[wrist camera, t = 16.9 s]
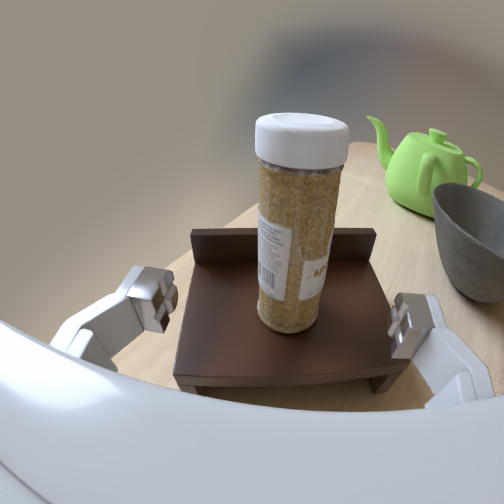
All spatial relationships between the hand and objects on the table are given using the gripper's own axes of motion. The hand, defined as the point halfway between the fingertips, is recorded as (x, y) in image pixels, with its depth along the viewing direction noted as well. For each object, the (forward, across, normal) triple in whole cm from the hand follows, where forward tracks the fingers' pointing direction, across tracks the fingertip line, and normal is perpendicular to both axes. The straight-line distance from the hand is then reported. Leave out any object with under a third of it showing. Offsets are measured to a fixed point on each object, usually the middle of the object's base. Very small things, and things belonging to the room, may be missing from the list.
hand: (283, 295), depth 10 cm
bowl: (+17, -24, +14) cm, 33 cm away
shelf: (+8, 0, +14) cm, 16 cm away
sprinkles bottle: (+7, 0, +9) cm, 11 cm away
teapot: (+41, -24, +14) cm, 50 cm away
